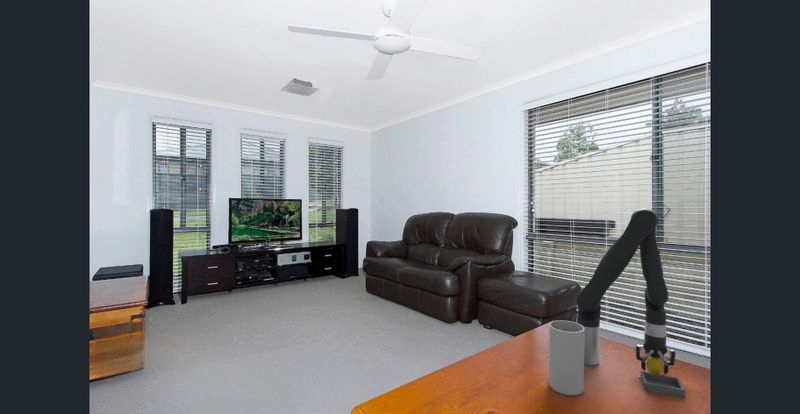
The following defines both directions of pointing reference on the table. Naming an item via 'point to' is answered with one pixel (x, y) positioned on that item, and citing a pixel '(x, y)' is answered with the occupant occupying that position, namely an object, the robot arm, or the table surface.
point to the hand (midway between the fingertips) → (654, 371)
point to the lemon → (654, 365)
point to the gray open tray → (662, 384)
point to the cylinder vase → (566, 357)
